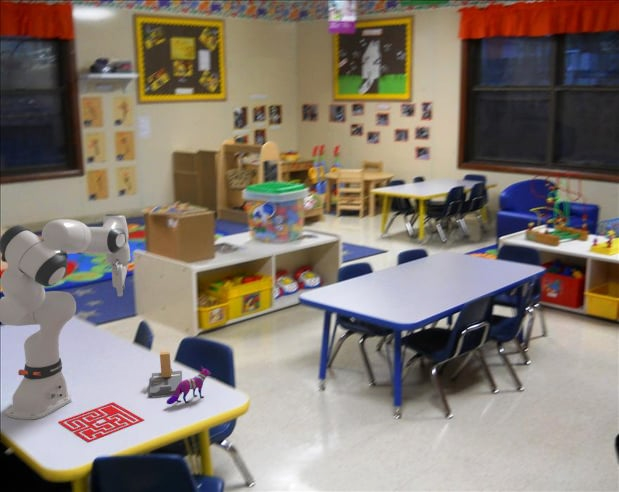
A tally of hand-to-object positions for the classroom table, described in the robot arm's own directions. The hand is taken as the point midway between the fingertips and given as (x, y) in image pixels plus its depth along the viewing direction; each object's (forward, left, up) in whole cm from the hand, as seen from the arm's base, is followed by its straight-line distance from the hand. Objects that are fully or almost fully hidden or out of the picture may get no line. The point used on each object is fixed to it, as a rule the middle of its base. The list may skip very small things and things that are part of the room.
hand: (121, 292), depth 272 cm
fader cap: (-6, -19, -30) cm, 36 cm away
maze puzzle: (-41, -13, -32) cm, 54 cm away
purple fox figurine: (-20, -35, -31) cm, 51 cm away
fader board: (-10, -21, -31) cm, 39 cm away
